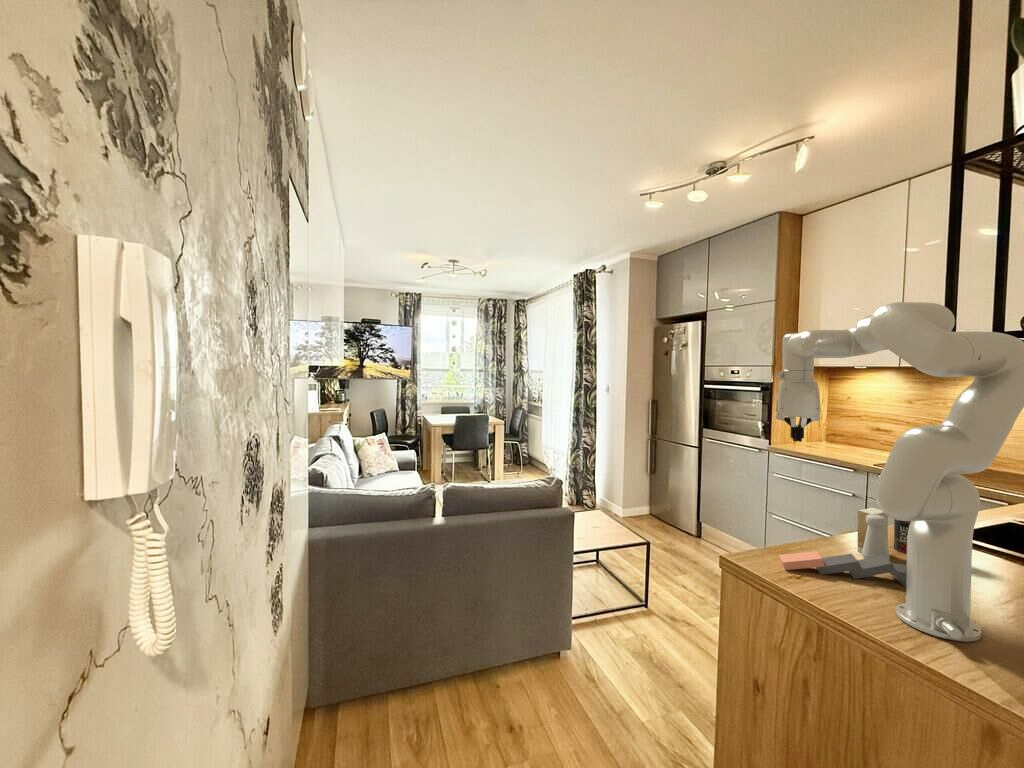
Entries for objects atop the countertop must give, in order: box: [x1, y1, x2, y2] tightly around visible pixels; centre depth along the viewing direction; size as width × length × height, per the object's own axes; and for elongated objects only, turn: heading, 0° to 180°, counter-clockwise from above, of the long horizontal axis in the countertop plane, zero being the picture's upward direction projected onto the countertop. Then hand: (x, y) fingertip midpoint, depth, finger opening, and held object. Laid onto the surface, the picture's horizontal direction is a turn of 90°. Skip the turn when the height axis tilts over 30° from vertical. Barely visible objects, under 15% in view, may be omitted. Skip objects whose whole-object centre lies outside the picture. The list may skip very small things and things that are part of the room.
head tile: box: [779, 550, 824, 571], centre depth 116 cm, size 5×2×9 cm
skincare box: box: [857, 507, 889, 554], centre depth 126 cm, size 6×4×12 cm
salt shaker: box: [861, 514, 891, 561], centre depth 119 cm, size 6×6×13 cm
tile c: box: [888, 562, 907, 581], centre depth 108 cm, size 5×2×9 cm
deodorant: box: [893, 518, 911, 555], centre depth 127 cm, size 6×6×15 cm
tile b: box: [847, 555, 895, 580], centre depth 111 cm, size 5×2×9 cm
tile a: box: [814, 553, 861, 576], centre depth 114 cm, size 5×2×9 cm
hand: (797, 440), depth 126 cm, fingers closed
